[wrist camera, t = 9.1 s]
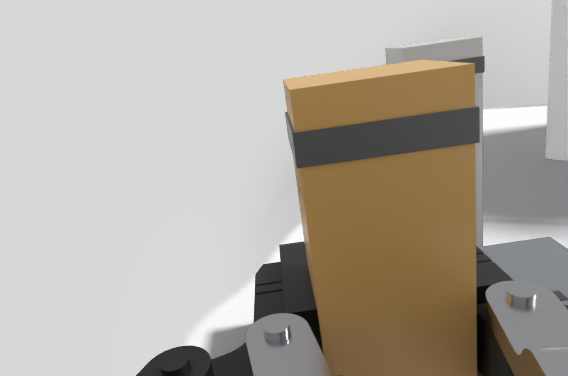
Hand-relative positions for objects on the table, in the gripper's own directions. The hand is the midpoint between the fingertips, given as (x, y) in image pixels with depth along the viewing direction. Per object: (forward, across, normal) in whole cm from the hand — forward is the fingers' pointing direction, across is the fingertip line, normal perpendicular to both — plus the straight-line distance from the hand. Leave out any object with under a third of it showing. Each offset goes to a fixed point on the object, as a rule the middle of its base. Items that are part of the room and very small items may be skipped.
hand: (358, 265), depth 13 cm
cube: (+36, -45, +11) cm, 59 cm away
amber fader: (-3, 0, +6) cm, 7 cm away
